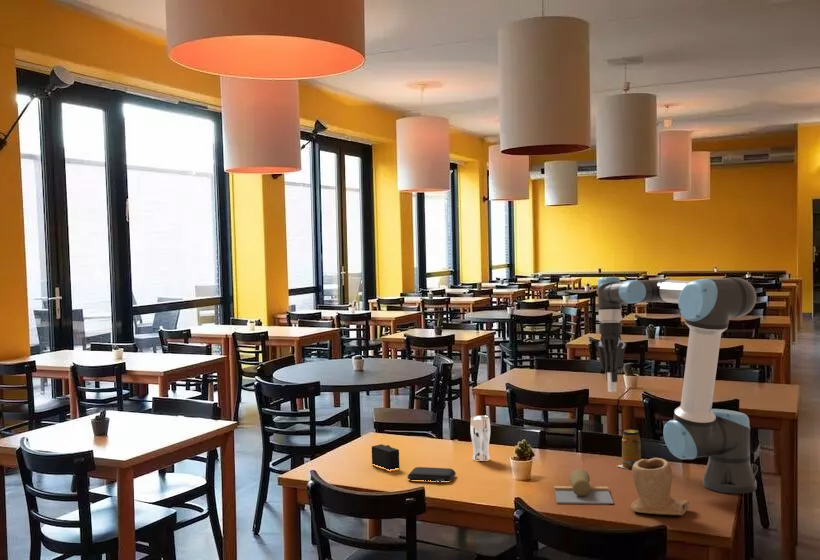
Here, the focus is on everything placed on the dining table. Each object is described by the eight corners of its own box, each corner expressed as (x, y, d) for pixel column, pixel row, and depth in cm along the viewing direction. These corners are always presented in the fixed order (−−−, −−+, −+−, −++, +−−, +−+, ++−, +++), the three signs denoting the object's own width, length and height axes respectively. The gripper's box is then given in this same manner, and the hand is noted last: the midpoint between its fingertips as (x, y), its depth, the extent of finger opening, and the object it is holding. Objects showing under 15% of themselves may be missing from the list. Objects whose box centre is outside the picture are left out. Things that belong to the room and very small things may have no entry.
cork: (591, 470, 242) (593, 480, 231) (588, 489, 242) (590, 501, 231) (571, 467, 243) (572, 477, 232) (568, 486, 243) (569, 497, 232)
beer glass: (494, 458, 279) (493, 416, 279) (485, 463, 273) (484, 420, 273) (476, 456, 283) (475, 414, 282) (467, 461, 277) (466, 418, 276)
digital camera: (402, 469, 270) (402, 448, 269) (389, 472, 266) (389, 451, 266) (384, 463, 278) (384, 443, 278) (372, 466, 274) (371, 446, 274)
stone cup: (627, 517, 216) (626, 463, 215) (633, 504, 227) (633, 452, 226) (686, 523, 210) (685, 467, 209) (689, 509, 221) (689, 456, 220)
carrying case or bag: (405, 483, 253) (450, 486, 250) (404, 474, 253) (449, 476, 250) (413, 474, 264) (456, 476, 260) (413, 465, 264) (456, 467, 260)
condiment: (629, 462, 270) (628, 427, 269) (650, 467, 263) (650, 431, 263) (616, 466, 265) (615, 431, 265) (638, 471, 259) (637, 435, 258)
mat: (554, 489, 242) (554, 485, 242) (607, 490, 240) (607, 486, 240) (556, 503, 229) (556, 499, 229) (613, 504, 227) (613, 500, 227)
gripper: (632, 321, 267) (634, 392, 265) (604, 322, 278) (606, 390, 276) (615, 321, 263) (617, 393, 262) (588, 322, 275) (590, 391, 273)
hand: (612, 391), depth 269 cm, fingers closed
